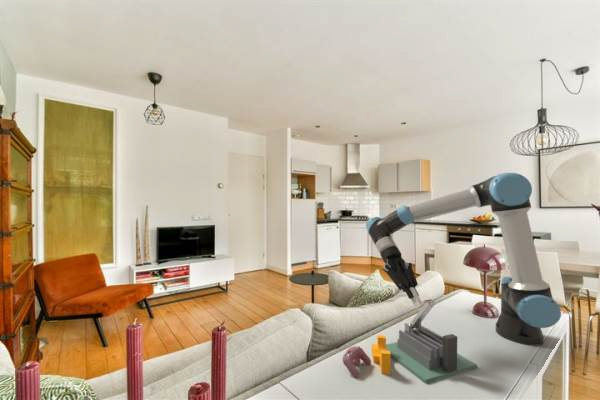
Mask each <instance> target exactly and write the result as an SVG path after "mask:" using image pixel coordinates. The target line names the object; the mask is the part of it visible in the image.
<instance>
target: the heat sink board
mask: <svg viewBox="0 0 600 400" xmlns="http://www.w3.org/2000/svg"><path fill="white" fill-rule="evenodd" d="M386 351H390V354H391V358H392V359H393V360H394V361H396V362H397V363H398V364H400V365H401V366H402V367H403V368H404V369H406V370H407V371H409V373H411V374H412V375H414V376H415V377H416V378H418V379H419V380H420V381H422V382H423V383H424V384H427V383H431V382H434V381H437V380H441V379H444V378H447V377H451V376H454V375H457V374H460V373H465V372H468V371H470V370H471V371H472V370H474V369H476V368H478V364H477V363H475V362H473V361H472V360H470V359H468V358H467V357H465V356H464V355H461V354H460V353H458V336H457V335H455V334H453V333H449V334H446V335H443V336H442V335H440V334H438V333H436V332H434V331H433V330H431V329H428V328H426V327H425V326H423V325H422V322H421V323H420V324H419V325H418V328H413V329H411V325H410V323H408V322H405V323H404V331H403V330H402V329H401V330H400V329H399V330H398V339H397V341H396V342H392V343H386Z"/></svg>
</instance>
